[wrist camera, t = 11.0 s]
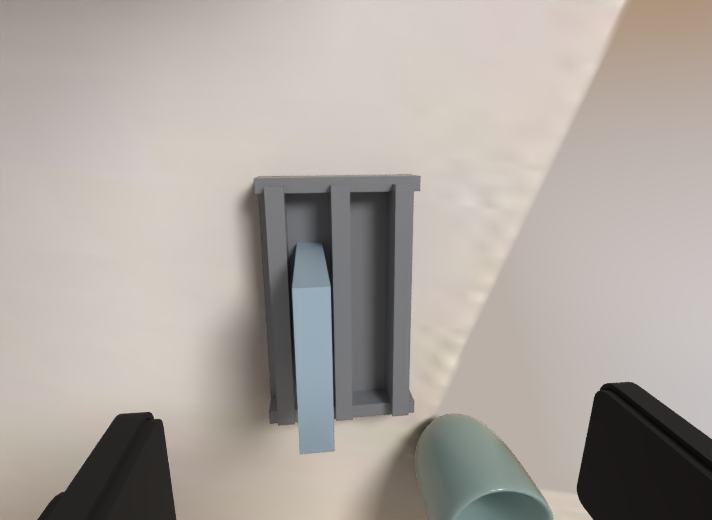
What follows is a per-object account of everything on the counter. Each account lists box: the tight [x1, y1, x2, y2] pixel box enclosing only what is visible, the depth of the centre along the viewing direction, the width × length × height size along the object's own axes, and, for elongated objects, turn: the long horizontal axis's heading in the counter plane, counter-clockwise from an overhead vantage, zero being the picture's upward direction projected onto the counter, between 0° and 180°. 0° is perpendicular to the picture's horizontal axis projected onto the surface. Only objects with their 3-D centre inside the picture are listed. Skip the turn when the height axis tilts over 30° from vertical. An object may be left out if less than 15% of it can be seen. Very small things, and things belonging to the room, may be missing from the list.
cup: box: [415, 414, 553, 520], centre depth 32 cm, size 8×8×10 cm
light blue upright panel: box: [292, 242, 335, 454], centre depth 26 cm, size 9×2×11 cm, turn 2°
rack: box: [254, 174, 421, 425], centre depth 30 cm, size 18×11×4 cm, turn 2°
